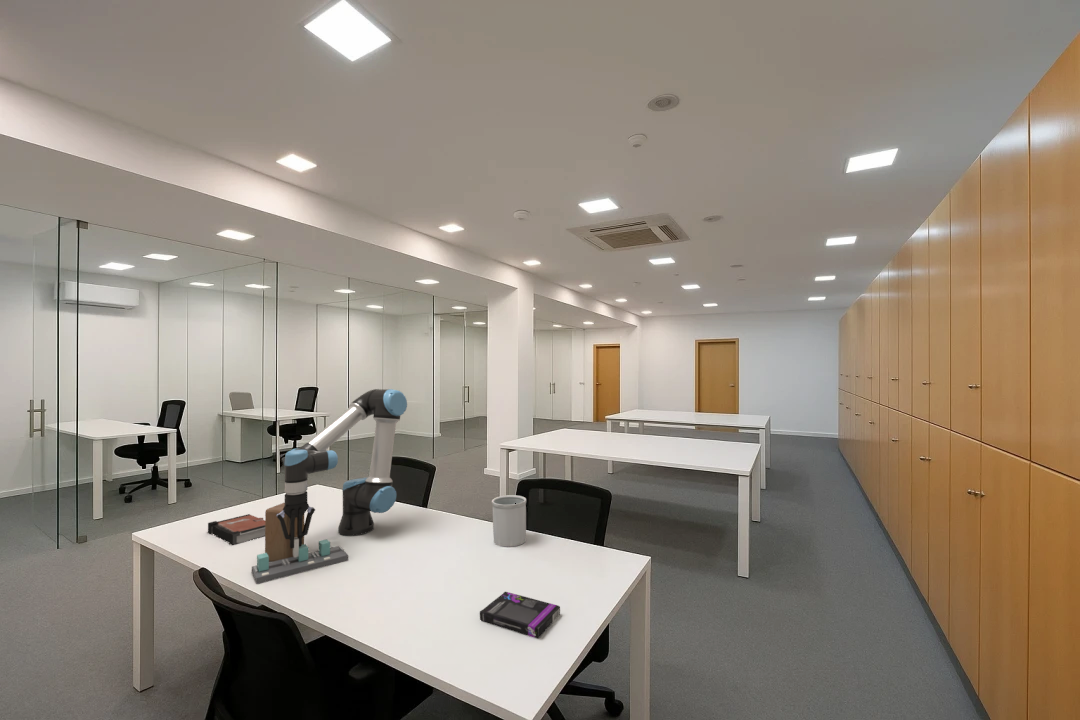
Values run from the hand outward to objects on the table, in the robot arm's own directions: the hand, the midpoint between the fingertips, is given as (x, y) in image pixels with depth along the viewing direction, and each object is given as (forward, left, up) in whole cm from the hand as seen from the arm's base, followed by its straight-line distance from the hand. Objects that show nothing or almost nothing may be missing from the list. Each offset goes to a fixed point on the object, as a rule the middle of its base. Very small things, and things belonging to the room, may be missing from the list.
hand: (295, 555), depth 167 cm
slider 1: (+11, 0, -2) cm, 11 cm away
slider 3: (-10, 0, -2) cm, 10 cm away
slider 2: (-2, 0, -2) cm, 3 cm away
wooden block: (+2, -12, -4) cm, 12 cm away
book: (+11, -55, -5) cm, 56 cm away
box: (-43, +82, -5) cm, 92 cm away
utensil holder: (-75, +31, -4) cm, 82 cm away
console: (-2, +1, -4) cm, 4 cm away
